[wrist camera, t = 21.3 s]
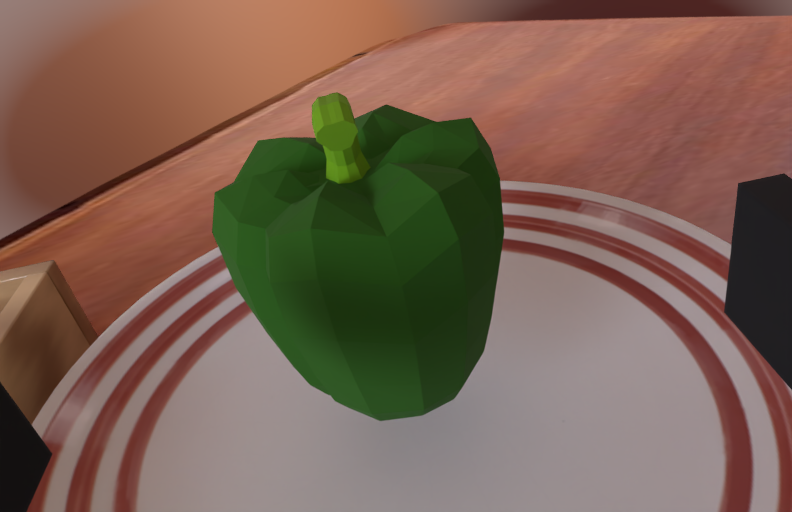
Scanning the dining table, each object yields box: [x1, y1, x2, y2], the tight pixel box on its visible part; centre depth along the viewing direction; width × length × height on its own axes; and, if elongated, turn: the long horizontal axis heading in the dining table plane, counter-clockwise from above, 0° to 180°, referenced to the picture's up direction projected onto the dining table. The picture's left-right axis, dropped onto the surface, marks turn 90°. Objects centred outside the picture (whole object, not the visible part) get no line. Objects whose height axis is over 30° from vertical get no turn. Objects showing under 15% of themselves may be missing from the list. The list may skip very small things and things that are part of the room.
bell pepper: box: [212, 92, 504, 421], centre depth 19 cm, size 8×8×10 cm
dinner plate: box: [27, 181, 792, 512], centre depth 23 cm, size 28×27×3 cm
